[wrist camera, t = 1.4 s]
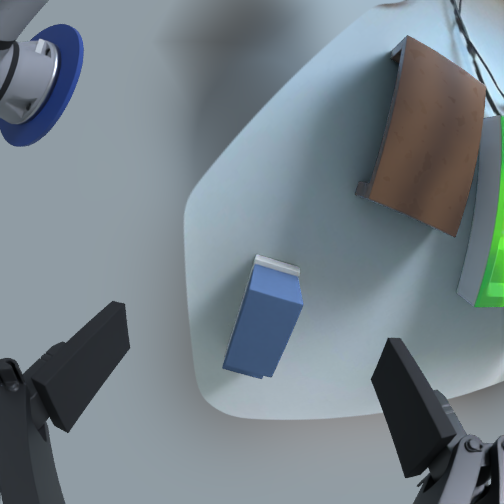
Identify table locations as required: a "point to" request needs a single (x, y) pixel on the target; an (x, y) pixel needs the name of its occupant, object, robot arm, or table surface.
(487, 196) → the tray
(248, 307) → the block
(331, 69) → the table surface
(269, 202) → the table surface
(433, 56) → the shelf
